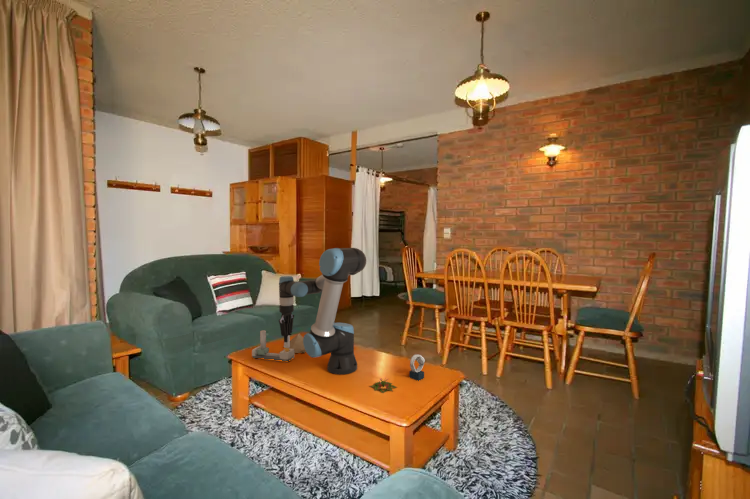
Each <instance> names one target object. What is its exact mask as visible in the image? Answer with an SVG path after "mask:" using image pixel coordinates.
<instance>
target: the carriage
mask: <svg viewBox="0 0 750 499" xmlns="http://www.w3.org/2000/svg"><path fill="white" fill-rule="evenodd" d="M259 332H260V333H259V335H260V336H259V340H260V344H259V346H260V349H258V350H257V352H258V355H265V353H269V352H270V347H268V346H267V331H266V330H264V329H263V330H260V331H259Z"/></svg>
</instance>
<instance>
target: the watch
mask: <svg viewBox="0 0 750 499" xmlns="http://www.w3.org/2000/svg"><path fill="white" fill-rule="evenodd" d="M415 361H416V362H417V363H418V367H417V368H416V365H415ZM425 361H426V360H425V358H424V357H423V356H422V355H421V354H417V353H415V354H413V355H412V356H411V358H410V361H409V367H410V370H409V374H408V375H409V377H410V378H409V379H413V380H415V381H417V380H418V382H420V381H421V379H422V380H424V379H425V371H423V370H422V369H423V367H424V365H425ZM423 378H424V379H423ZM419 380H420V381H419Z"/></svg>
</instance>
